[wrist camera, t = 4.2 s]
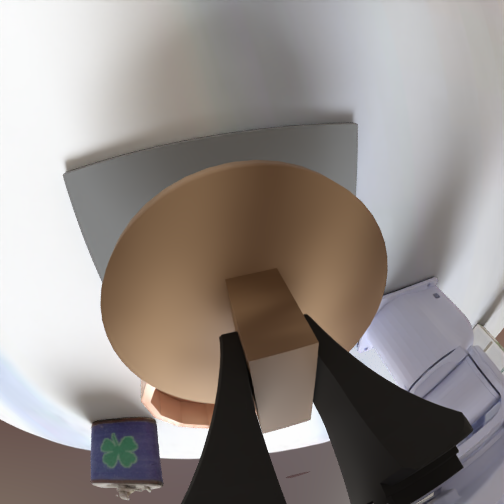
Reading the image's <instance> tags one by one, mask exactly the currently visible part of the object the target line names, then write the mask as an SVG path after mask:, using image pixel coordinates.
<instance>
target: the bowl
mask: <svg viewBox="0 0 504 504" xmlns="http://www.w3.org/2000/svg"><path fill="white" fill-rule="evenodd" d="M141 402H142V403H143V405H144V406H145V407H146V408H147V409H148V411H149V412H150V413H151V414H152V415H153V417H154V418H157V419H160V420H162V421H165V422H167V423H170V424H173V425H176V426H178V427H190V428H209V427H210V423H211V419H212V415H213V410H214V404H210V403H202V402H195V401H190V400H186V399H182V398H179V397H176V396H173V395H170V394H167V393H165V392H163V391H161V390H158V389H156V388H154V387H153V386H151V385H149V384H148V383H146V382H145V381H143V380H142V379H141ZM255 412H256V410H255ZM256 414H257V413H256Z"/></svg>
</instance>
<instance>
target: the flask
mask: <svg viewBox="0 0 504 504" xmlns="http://www.w3.org/2000/svg"><path fill="white" fill-rule="evenodd" d="M91 428H92V434H91V438H92V439H91V483H92V484H93V485H95V486H98V487H102V488H118V489H117V491H118V492H119V495H120V496H119V497H120V498H121V499H124V500H129V497H128V496H129V495H130V494H131V493H133V492H134V490H135V491H142V490H147V491H149V492H150V491H151V489H156V488H160V487H162V486H163V479H162V471H161V465H160V457H159V445H158V435H157V425H156V421H155V420H154V419H152V418H147V417H137V418H121V419H120V418H119V419H110V420H103V421H96V422H94V423H93V424H92V427H91ZM139 488H142V489H141V490H139ZM116 497H118V495H116Z"/></svg>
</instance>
